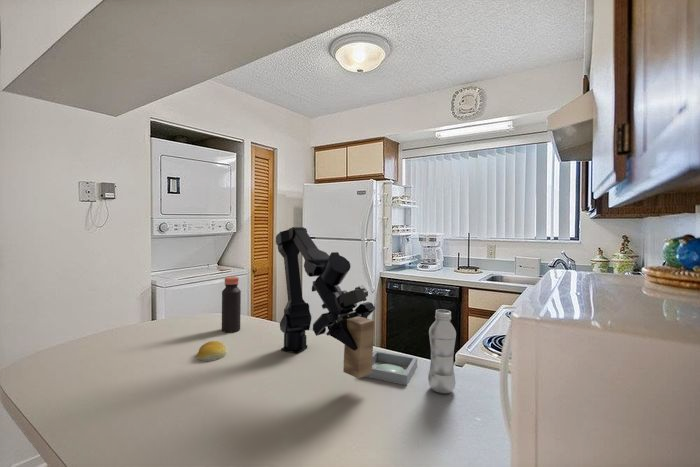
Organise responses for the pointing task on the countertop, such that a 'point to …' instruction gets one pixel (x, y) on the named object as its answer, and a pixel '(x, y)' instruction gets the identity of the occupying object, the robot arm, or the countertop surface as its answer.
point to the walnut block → (359, 347)
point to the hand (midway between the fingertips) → (363, 346)
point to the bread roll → (211, 351)
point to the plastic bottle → (442, 353)
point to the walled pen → (392, 367)
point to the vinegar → (231, 306)
